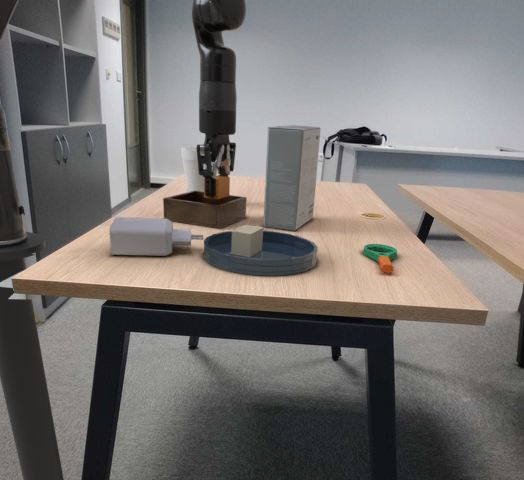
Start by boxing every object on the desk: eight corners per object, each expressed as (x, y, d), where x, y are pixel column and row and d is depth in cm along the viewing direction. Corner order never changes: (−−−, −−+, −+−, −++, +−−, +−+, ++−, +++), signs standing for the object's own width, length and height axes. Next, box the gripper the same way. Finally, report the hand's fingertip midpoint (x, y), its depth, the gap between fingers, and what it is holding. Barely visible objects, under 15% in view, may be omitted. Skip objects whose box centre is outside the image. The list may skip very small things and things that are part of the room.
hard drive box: (282, 214, 115) (289, 124, 106) (313, 218, 113) (322, 127, 104) (261, 227, 102) (267, 125, 93) (295, 231, 100) (304, 128, 91)
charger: (204, 258, 79) (111, 256, 77) (202, 244, 87) (118, 242, 85) (204, 230, 77) (108, 227, 74) (202, 218, 85) (116, 215, 83)
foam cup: (186, 198, 127) (185, 146, 121) (220, 201, 127) (221, 148, 121) (179, 205, 118) (178, 149, 112) (216, 207, 118) (216, 151, 112)
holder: (163, 220, 103) (162, 198, 100) (194, 210, 114) (194, 190, 112) (219, 228, 98) (220, 206, 96) (245, 217, 110) (246, 197, 108)
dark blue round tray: (182, 262, 76) (182, 247, 75) (232, 238, 92) (233, 225, 91) (295, 283, 70) (297, 267, 69) (328, 253, 86) (329, 239, 85)
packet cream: (231, 254, 80) (231, 230, 78) (244, 247, 84) (244, 224, 83) (249, 257, 79) (251, 233, 77) (262, 250, 83) (263, 227, 82)
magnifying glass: (361, 248, 91) (363, 240, 90) (393, 251, 90) (395, 242, 89) (367, 272, 77) (369, 262, 76) (405, 276, 77) (407, 266, 76)
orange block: (203, 197, 101) (203, 178, 100) (215, 194, 106) (215, 175, 104) (218, 199, 100) (218, 179, 98) (229, 196, 105) (229, 177, 103)
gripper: (217, 107, 102) (216, 188, 110) (183, 106, 90) (185, 197, 98) (248, 109, 100) (245, 192, 108) (218, 108, 88) (217, 201, 96)
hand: (216, 194), depth 103 cm, fingers closed on orange block, 5 cm apart
